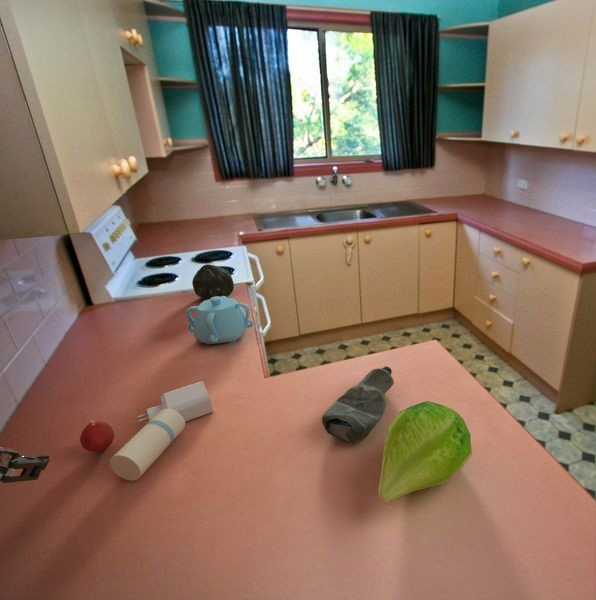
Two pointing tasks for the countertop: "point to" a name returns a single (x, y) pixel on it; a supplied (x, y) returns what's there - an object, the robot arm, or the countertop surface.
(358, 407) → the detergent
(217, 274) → the squash
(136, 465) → the paper towel roll
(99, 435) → the onion
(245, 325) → the decorative pot
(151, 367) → the countertop surface
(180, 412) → the charger
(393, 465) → the lettuce
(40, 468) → the robot arm
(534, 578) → the countertop surface
